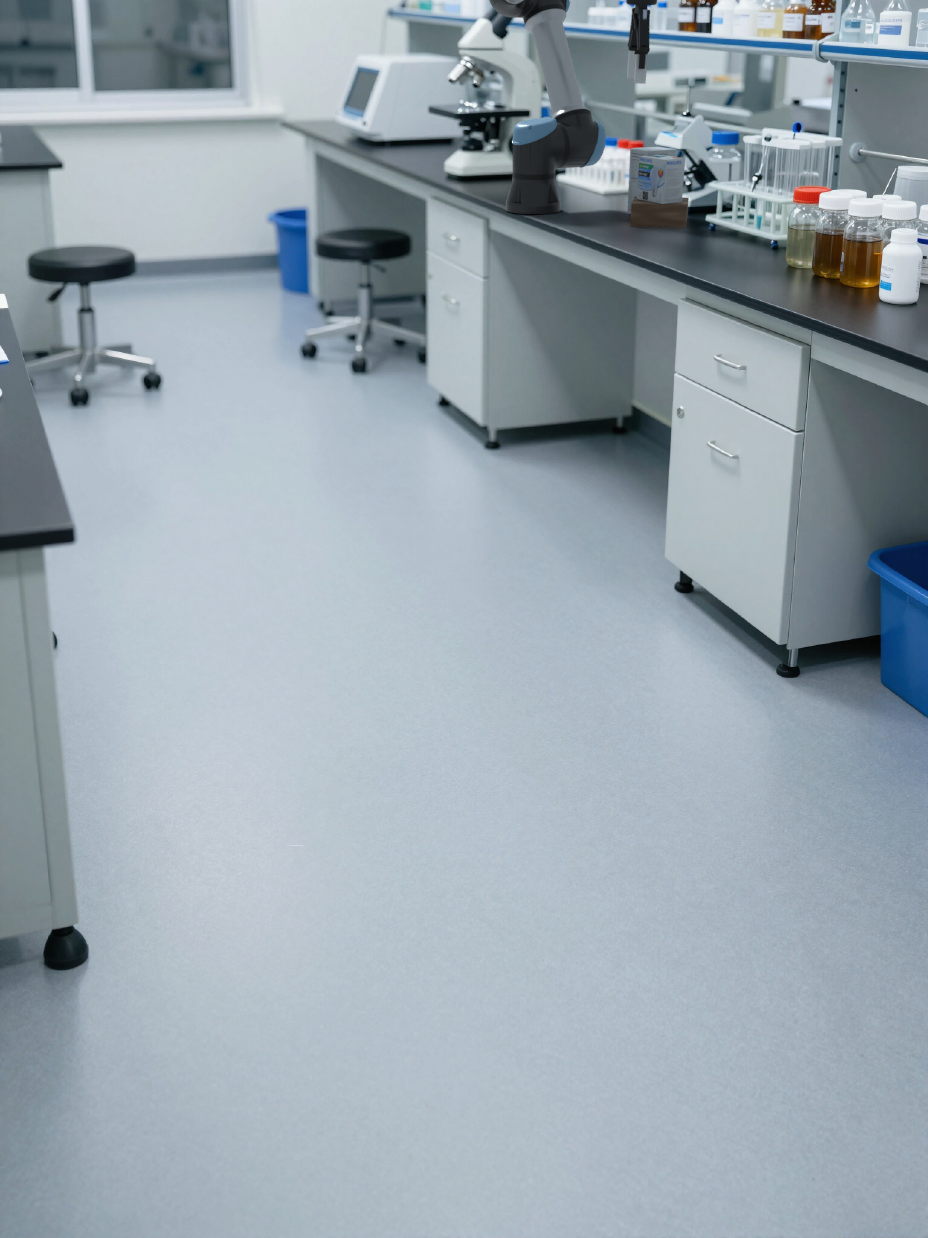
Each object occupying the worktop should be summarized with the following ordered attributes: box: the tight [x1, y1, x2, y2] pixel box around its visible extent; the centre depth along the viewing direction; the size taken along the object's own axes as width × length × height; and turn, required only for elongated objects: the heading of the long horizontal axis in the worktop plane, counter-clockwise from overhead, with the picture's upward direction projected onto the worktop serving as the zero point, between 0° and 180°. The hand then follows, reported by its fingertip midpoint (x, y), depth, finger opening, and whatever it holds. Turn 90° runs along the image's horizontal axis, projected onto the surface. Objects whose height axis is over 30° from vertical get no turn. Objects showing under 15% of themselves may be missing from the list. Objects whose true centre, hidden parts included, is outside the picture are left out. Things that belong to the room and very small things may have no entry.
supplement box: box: [626, 146, 677, 215], centre depth 337 cm, size 10×9×17 cm
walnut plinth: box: [629, 197, 689, 229], centre depth 326 cm, size 14×14×6 cm
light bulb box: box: [637, 155, 686, 204], centre depth 322 cm, size 11×7×11 cm, turn 33°
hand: (635, 80), depth 319 cm, fingers open, 13 cm apart
